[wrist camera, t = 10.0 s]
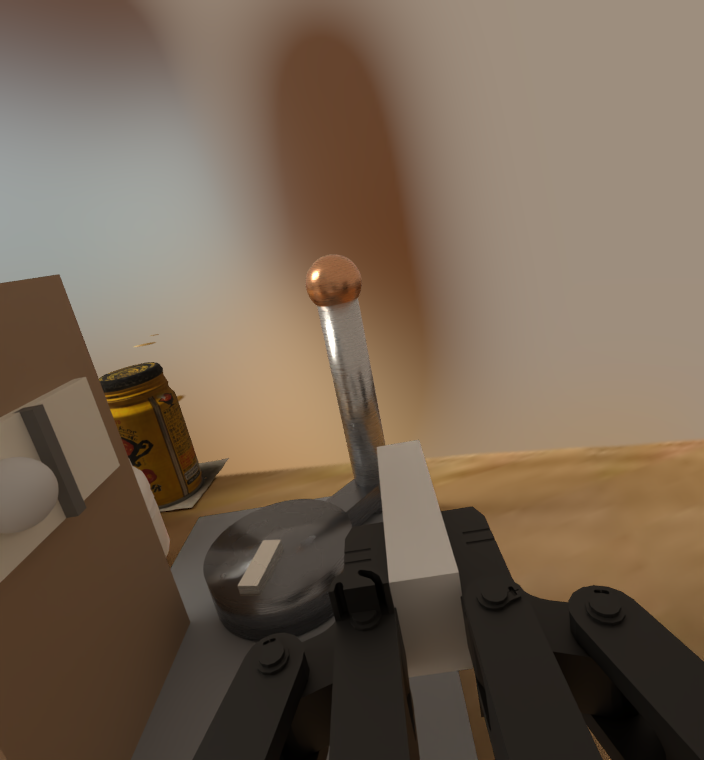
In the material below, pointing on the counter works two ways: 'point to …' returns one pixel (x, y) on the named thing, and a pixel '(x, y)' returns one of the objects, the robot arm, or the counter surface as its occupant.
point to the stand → (113, 575)
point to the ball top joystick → (306, 516)
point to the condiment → (157, 435)
